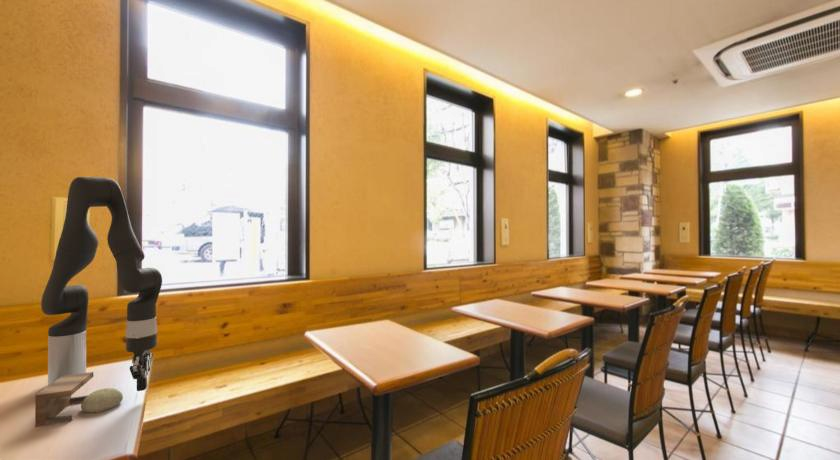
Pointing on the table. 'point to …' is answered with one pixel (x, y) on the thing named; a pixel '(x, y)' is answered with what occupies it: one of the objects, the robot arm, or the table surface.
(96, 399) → the sea urchin shell
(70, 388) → the shelf
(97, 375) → the table surface
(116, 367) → the table surface
